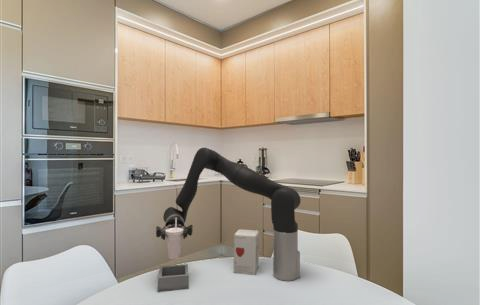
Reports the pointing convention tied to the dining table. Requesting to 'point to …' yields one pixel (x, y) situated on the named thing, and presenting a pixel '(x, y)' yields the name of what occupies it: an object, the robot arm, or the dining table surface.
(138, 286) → the dining table surface
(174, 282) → the box
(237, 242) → the supplement box
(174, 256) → the smoothie
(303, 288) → the dining table surface
